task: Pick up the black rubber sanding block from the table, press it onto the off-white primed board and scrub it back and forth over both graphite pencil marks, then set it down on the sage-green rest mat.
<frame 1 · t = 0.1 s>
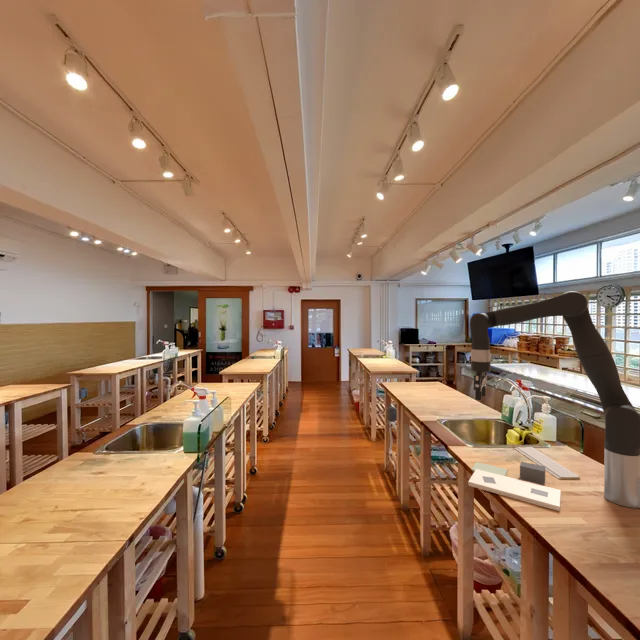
hand: (480, 398, 142), 29 cm above the worktop, tool pointing down, fingers open, 8 cm apart
rest mat: (489, 470, 138), on the worktop
primed board: (513, 489, 123), on the worktop
sanding block: (532, 480, 130), on the worktop
baseboard: (542, 464, 146), on the worktop
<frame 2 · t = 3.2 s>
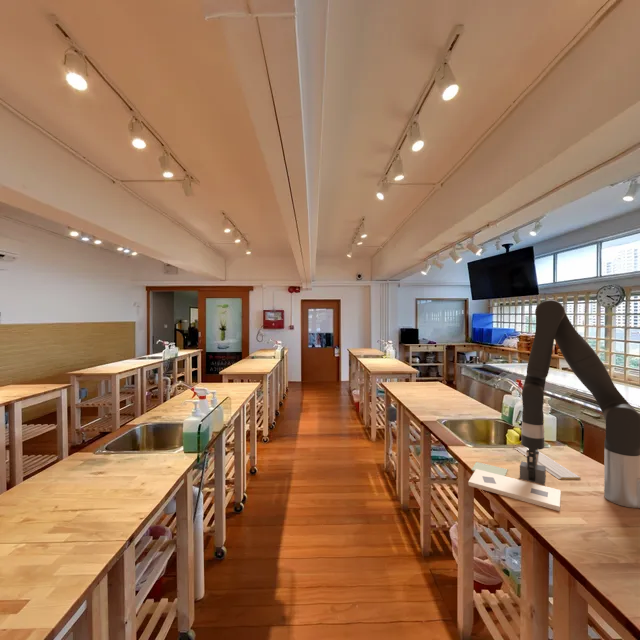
hand: (532, 477, 130), 1 cm above the worktop, tool pointing down, fingers closed on sanding block, 5 cm apart
sanding block: (532, 480, 130), on the worktop, touching gripper
everything else where it was.
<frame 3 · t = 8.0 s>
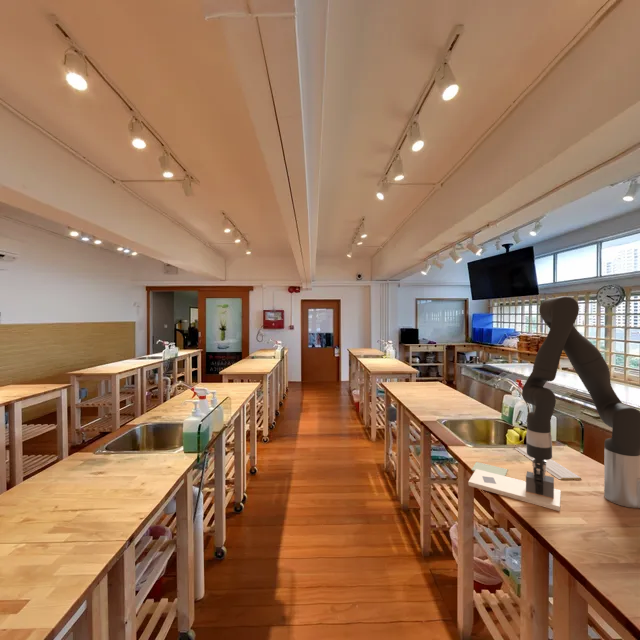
hand: (539, 490, 118), 2 cm above the worktop, tool pointing down, fingers closed on sanding block, 5 cm apart
sanding block: (539, 492, 118), point 2 cm above the worktop, touching gripper
everything else where it was.
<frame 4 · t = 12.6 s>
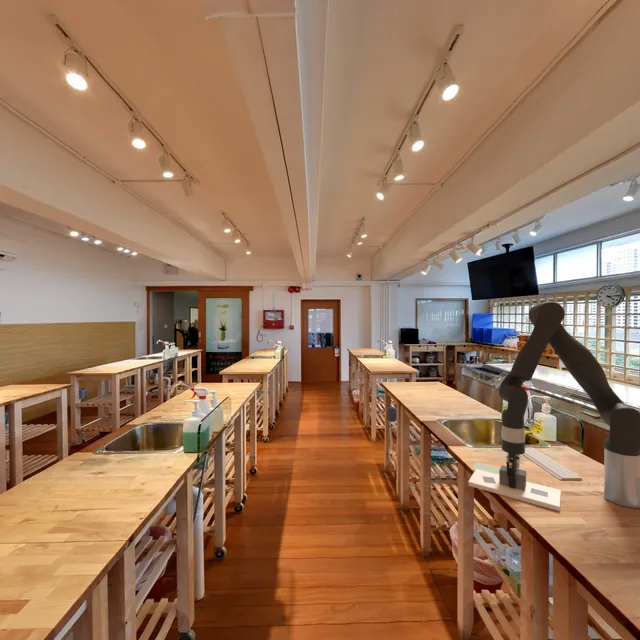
hand: (513, 484, 123), 2 cm above the worktop, tool pointing down, fingers closed on sanding block, 5 cm apart
sanding block: (512, 485, 123), point 2 cm above the worktop, touching gripper
everything else where it was.
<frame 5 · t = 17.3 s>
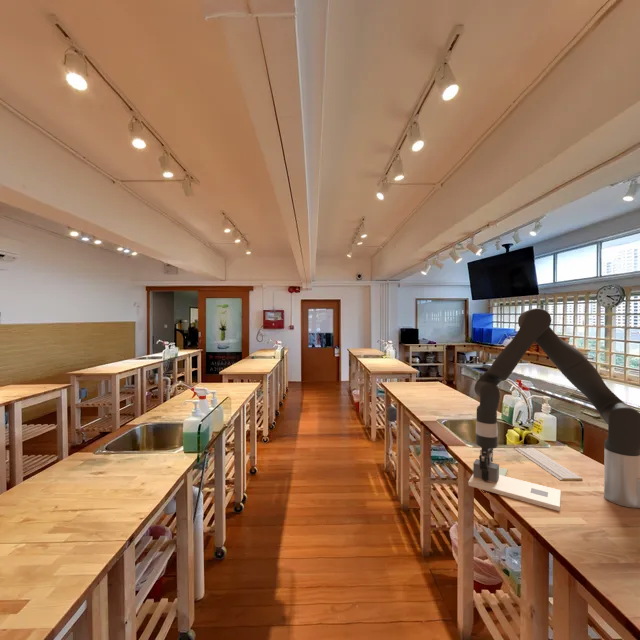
hand: (486, 476, 128), 2 cm above the worktop, tool pointing down, fingers closed on sanding block, 5 cm apart
sanding block: (486, 478, 128), point 2 cm above the worktop, touching gripper
everything else where it was.
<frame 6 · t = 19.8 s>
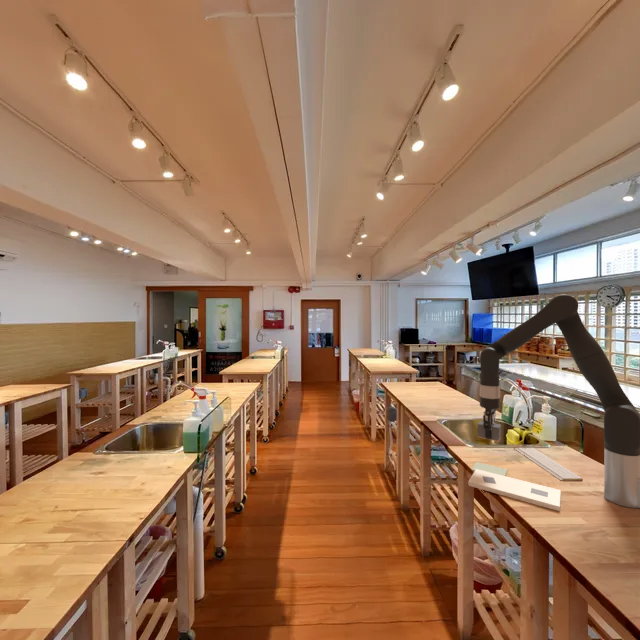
hand: (489, 436, 138), 14 cm above the worktop, tool pointing down, fingers closed on sanding block, 5 cm apart
sanding block: (489, 437, 138), point 14 cm above the worktop, touching gripper
when the fingers open (3 cm above the worktop, at t = 21.9 s): sanding block drops 2 cm, resting on rest mat.
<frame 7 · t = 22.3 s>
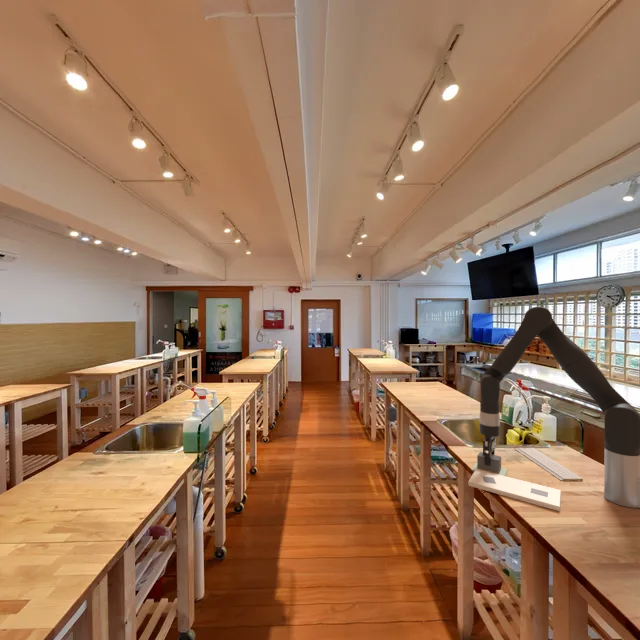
hand: (489, 461, 138), 4 cm above the worktop, tool pointing down, fingers open, 8 cm apart
sanding block: (489, 469, 138), resting on rest mat
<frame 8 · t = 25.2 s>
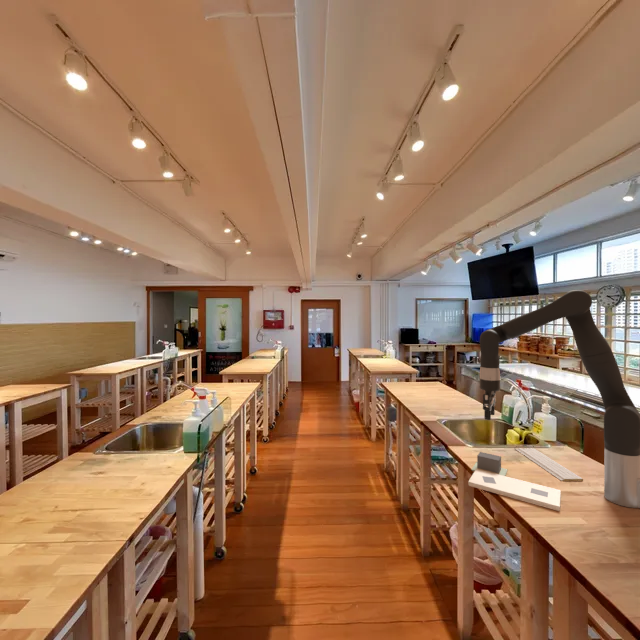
hand: (489, 417, 138), 22 cm above the worktop, tool pointing down, fingers open, 8 cm apart
at the end: sanding block inside the target area (0.1 cm from its centre), resting on rest mat; sanding block tilted 0°; the gripper is holding nothing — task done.
